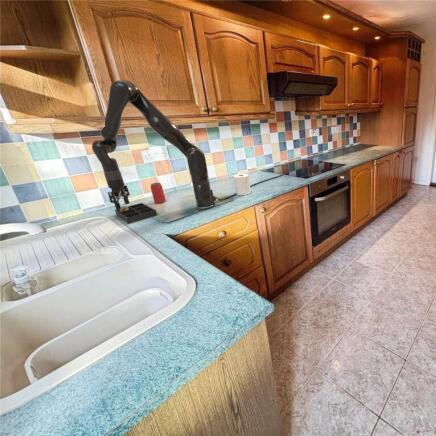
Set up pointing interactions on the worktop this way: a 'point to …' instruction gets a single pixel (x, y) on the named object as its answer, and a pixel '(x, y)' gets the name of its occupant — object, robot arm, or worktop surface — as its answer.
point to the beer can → (157, 193)
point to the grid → (136, 213)
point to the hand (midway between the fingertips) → (123, 206)
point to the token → (124, 208)
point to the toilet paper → (242, 184)
